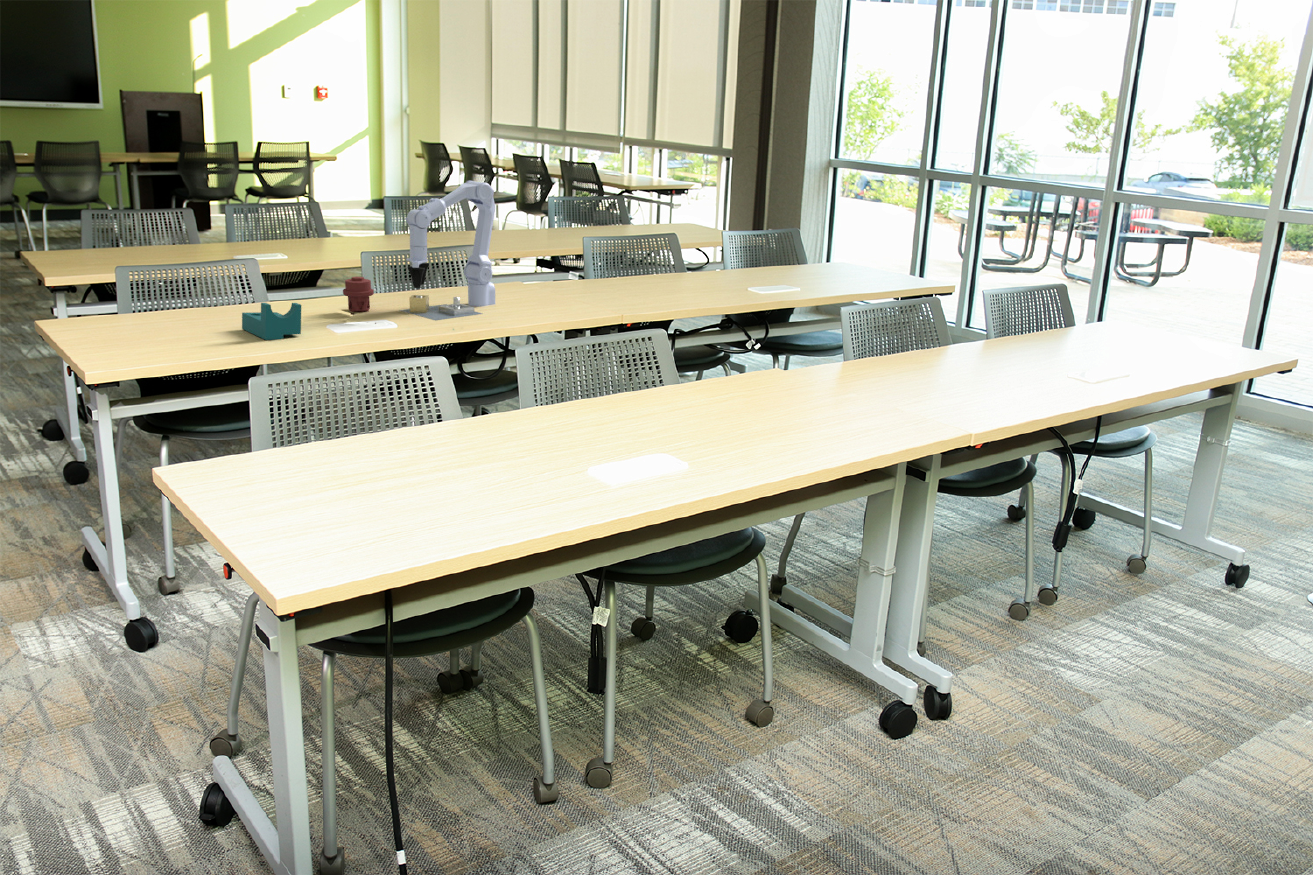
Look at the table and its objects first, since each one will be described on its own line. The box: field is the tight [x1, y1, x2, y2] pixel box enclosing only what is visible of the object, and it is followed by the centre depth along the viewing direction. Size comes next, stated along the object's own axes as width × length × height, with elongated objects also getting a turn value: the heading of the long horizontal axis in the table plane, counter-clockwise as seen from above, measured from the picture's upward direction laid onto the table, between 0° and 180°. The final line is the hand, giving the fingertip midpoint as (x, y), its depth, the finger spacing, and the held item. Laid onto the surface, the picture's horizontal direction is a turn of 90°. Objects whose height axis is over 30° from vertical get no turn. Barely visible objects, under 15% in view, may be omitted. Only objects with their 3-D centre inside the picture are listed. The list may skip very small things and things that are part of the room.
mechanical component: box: [342, 276, 375, 316], centre depth 343 cm, size 12×10×10 cm
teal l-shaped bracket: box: [241, 302, 302, 341], centre depth 309 cm, size 18×11×10 cm, turn 42°
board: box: [398, 303, 484, 321], centre depth 349 cm, size 20×21×1 cm
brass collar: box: [409, 294, 430, 313], centre depth 348 cm, size 6×6×5 cm
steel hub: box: [439, 296, 476, 316], centre depth 348 cm, size 9×9×5 cm
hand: (418, 286), depth 346 cm, fingers open, 7 cm apart
